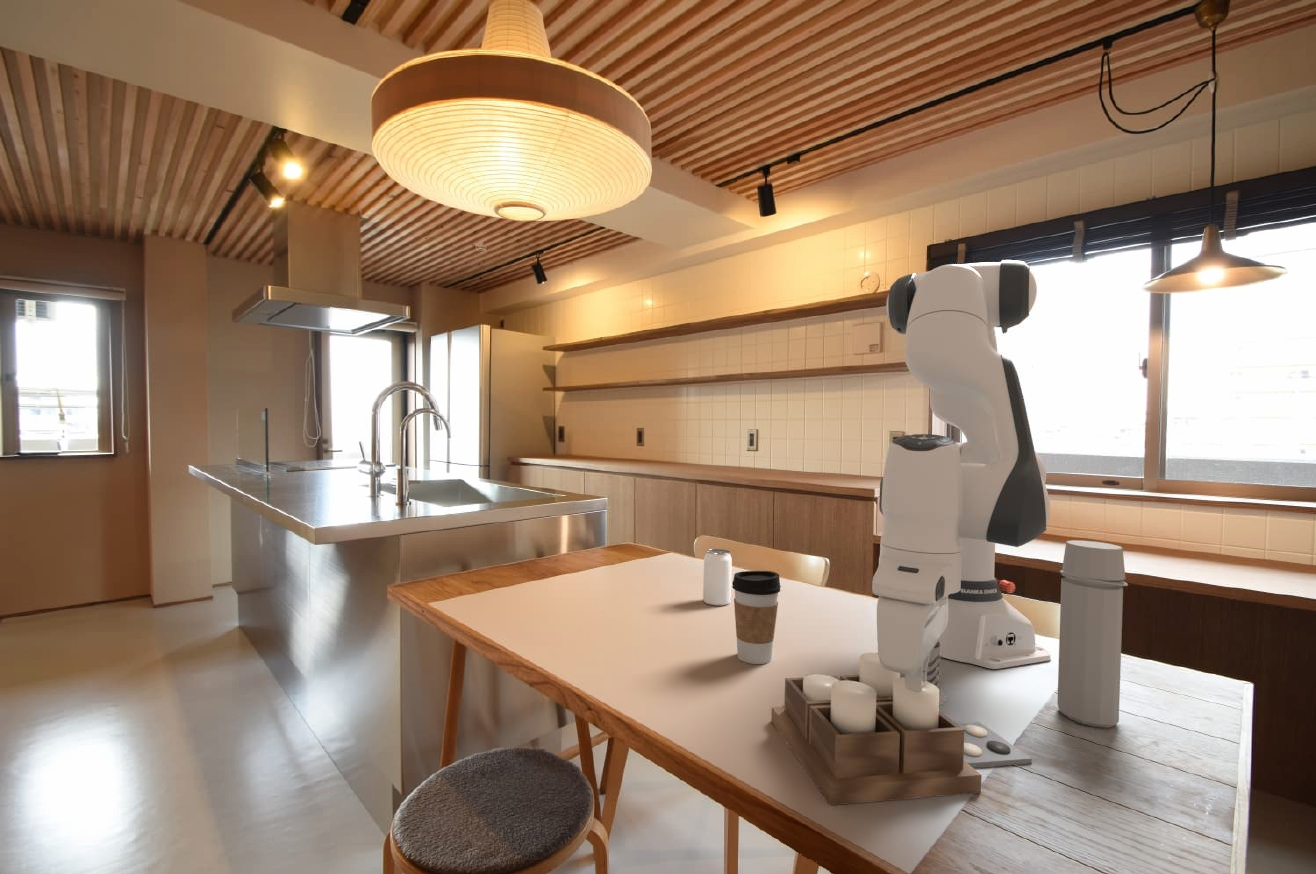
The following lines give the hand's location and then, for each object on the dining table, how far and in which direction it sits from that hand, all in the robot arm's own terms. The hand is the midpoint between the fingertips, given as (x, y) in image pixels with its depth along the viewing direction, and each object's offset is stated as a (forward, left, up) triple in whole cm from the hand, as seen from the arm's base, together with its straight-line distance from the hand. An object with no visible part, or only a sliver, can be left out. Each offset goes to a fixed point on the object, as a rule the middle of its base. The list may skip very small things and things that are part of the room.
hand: (915, 686), depth 69 cm
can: (+6, -68, -10) cm, 69 cm away
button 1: (+8, -8, -8) cm, 14 cm away
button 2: (+8, 0, -5) cm, 9 cm away
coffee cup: (+8, -35, -10) cm, 37 cm away
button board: (+4, -4, -10) cm, 12 cm away
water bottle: (-34, -9, -10) cm, 37 cm away
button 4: (0, 0, -5) cm, 5 cm away
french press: (-13, -20, -10) cm, 26 cm away
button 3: (0, -8, -5) cm, 10 cm away
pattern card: (-11, -4, -10) cm, 16 cm away
